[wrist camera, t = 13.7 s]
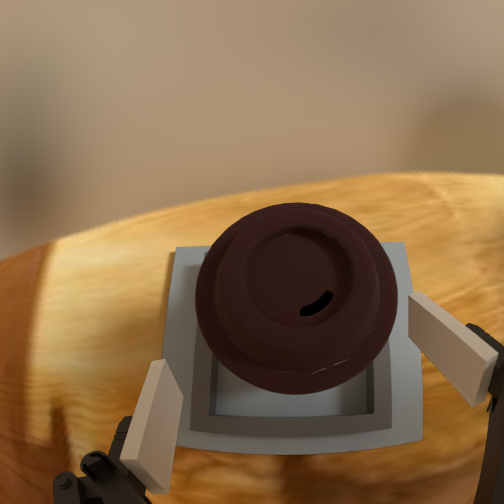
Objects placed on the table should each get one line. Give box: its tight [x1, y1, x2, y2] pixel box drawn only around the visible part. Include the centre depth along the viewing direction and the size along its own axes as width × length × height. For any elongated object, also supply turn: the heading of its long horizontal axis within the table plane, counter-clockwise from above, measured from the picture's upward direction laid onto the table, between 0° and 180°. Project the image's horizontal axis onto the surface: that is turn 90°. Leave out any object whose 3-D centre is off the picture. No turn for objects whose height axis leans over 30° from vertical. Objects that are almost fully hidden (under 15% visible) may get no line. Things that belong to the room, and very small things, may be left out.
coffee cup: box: [195, 202, 398, 395], centre depth 19 cm, size 10×10×15 cm
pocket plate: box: [162, 242, 423, 455], centre depth 25 cm, size 24×20×4 cm
